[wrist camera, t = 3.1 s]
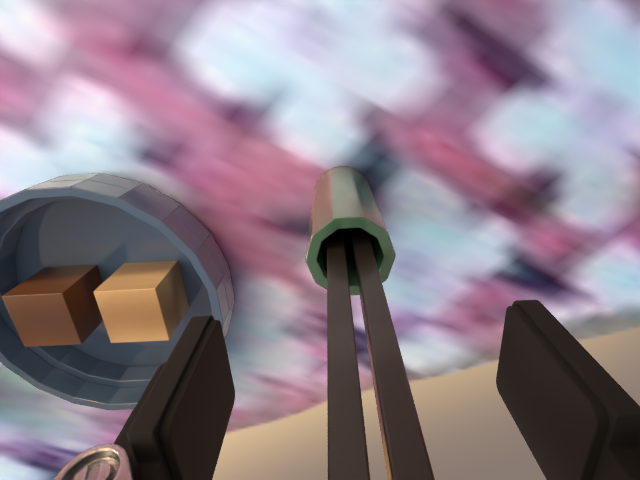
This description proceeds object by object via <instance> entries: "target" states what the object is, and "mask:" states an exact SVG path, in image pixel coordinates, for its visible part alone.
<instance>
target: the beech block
mask: <svg viewBox="0 0 640 480" xmlns="http://www.w3.org/2000/svg"><path fill="white" fill-rule="evenodd" d="M94 295H95V298H96V301H97V304H98V307H99V310H100V313H101V315H102V318H103V321H104V324H105V327H106V330H107V333H108V335H109V338H110V341H111V343H120V342H142V341H164V340H170V338H171V337H172V335H173V333H174V332H175V330H176V328H177V327H178V325H179V323H180V322H181V320H182V318H183V317H184V315H185V313H186V312H187V310H188V308H189V304H188V300H187V296H186V292H185V288H184V283H183V279H182V275H181V271H180V267H179V262H178V260H176V261H157V262H139V263H124V264H123V265H122V266H121V267H120V268H119V269H117V270H116V271H115V272H114V273H113V274H112V275H111V276H110V277H109V278H108V279H107V280H105V281H104V282H103V283H102V284H101V285H100V286H99V287H98V288H97V289H96V290H95V291H94Z"/></svg>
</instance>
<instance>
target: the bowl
mask: <svg viewBox="0 0 640 480" xmlns="http://www.w3.org/2000/svg"><path fill="white" fill-rule="evenodd" d="M176 260H178V262H179V267H180V271H181V275H182V279H183V283H184V288H185V292H186V296H187V300H188V304H189V308H188V310H187V312H186V313H185V315H184V317H183V318H182V320H181V322H180V323H179V325H178V327H177V328H176V330H175V332H174V333H173V335H172V337H171V338H170V340H164V341H142V342H120V343H111V341H110V338H109V335H108V333H107V330H106V327H105V324H104V321H103V322H102V323H101V324H100V325H99V326H98V327H97V328H96V329H95V330H94V331H93V332H92V333H91V335H90V336H89V337H88V338H87V339H86V340H85V341H84V342H83V343H82V344H75V345H53V346H31V347H25V346H24V344H23V342H22V340H21V338H20V336H19V333H18V331H17V329H16V327H15V325H14V323H13V320H12V318H11V316H10V314H9V312H8V310H7V307H6V305H5V303H4V301H3V299H2V296H3V295H4V294H6V293H7V292H9V291H10V290H12V289H13V288H15V287H16V286H18V285H19V284H21V283H22V282H24V281H25V280H27V279H28V278H30V277H31V276H33V275H34V274H36V273H37V272H39V271H40V270H42V269H43V268H48V267H66V266H85V265H97V267H98V270H99V273H100V276H101V279H102V282H104V281H105V280H107V279H108V278H109V277H110V276H111V275H112V274H113V273H114V272H115V271H116V270H117V269H119V268H120V267H121V266H122V265H123V264H124V263H139V262H157V261H176ZM233 304H234V292H233V287H232V281H231V276H230V270H229V266H228V263H227V261H226V260H225V258H224V256H223V254H222V252H221V251H220V249H219V247H218V245H217V243H216V242H215V240H214V238H213V236H212V234H211V233H210V232H209V231H208V230H207V229H206V228H205V227H204V226H203V225H202V224H201V223H200V222H199V221H198V220H197V219H196V218H195V217H194V216H193V215H192V214H191V213H190V212H189V211H188V210H187V209H186V208H185V207H184V206H183V205H181V204H180V203H178V202H176V201H175V200H173V199H171V198H169V197H167V196H166V195H164V194H162V193H160V192H158V191H157V190H155V189H153V188H151V187H150V186H148V185H146V184H143V183H140V182H136V181H132V180H128V179H124V178H119V177H115V176H111V175H107V174H101V173H97V174H81V175H66V176H60V177H57V178H54V179H52V180H49V181H46V182H44V183H41V184H38V185H35V186H32V187H30V188H27V189H24V190H22V191H20V192H18V193H15V194H13V195H11V196H9V197H6V198H4V199H2V200H0V362H1V363H2V364H3V365H5V366H6V367H7V368H9V369H10V370H12V371H13V372H14V373H16V374H17V375H19V376H20V377H22V378H23V379H24V380H26V381H27V382H29V383H30V384H32V385H33V386H35V387H37V388H38V389H40V390H43V391H45V392H48V393H50V394H52V395H55V396H57V397H60V398H62V399H64V400H67V401H69V402H71V403H75V404H80V405H85V406H90V407H96V408H101V409H106V410H123V409H134V408H135V406H136V405H137V403H138V401H139V399H140V398H141V396H142V394H143V393H144V391H145V389H146V387H147V386H148V384H149V382H150V381H151V379H152V377H153V375H154V374H155V372H156V370H157V369H158V367H159V366H160V365H161V364H163V363H166V362H167V360H168V358H169V356H170V355H171V353H172V351H173V349H174V347H175V346H176V344H177V342H178V340H179V339H180V337H181V335H182V333H183V332H184V330H185V328H186V326H187V324H188V323H189V321H190V319H191V318H192V317H193V316H210V315H212V316H213V317H214V319H215V320H220V322H221V325H222V330H223V335H224V339H225V336H226V334H227V331H228V328H229V325H230V320H231V315H232V309H233Z"/></svg>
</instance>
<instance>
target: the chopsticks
mask: <svg viewBox="0 0 640 480" xmlns="http://www.w3.org/2000/svg"><path fill="white" fill-rule="evenodd" d="M350 234H351V241H352V247H353V254H354V260H355V267H356V273H357V280H358V286H359V293H360V299H361V306H362V312H363V319H364V325H365V332H366V338H367V345H368V351H369V358H370V365H371V371H372V378H373V384H374V391H375V397H376V404H377V410H378V417H379V423H380V430H381V436H382V443H383V449H384V456H385V462H386V469H387V475H388V480H435V478H434V474H433V471H432V467H431V464H430V460H429V456H428V452H427V449H426V445H425V441H424V437H423V434H422V430H421V426H420V422H419V419H418V415H417V411H416V408H415V404H414V400H413V397H412V393H411V389H410V385H409V382H408V378H407V374H406V371H405V367H404V363H403V359H402V356H401V352H400V348H399V345H398V341H397V337H396V334H395V330H394V326H393V322H392V319H391V315H390V311H389V308H388V304H387V300H386V296H385V293H384V289H383V285H382V282H381V278H380V274H379V270H378V267H377V263H376V259H375V256H374V252H373V248H372V245H371V241H370V237H369V233H368V232H366V231H365V230H363V229H361V228H350ZM327 359H328V480H370V473H369V463H368V455H367V445H366V435H365V426H364V417H363V408H362V399H361V389H360V380H359V371H358V362H357V353H356V344H355V334H354V325H353V316H352V307H351V298H350V288H349V279H348V270H347V261H346V252H345V243H344V233H343V229H337V230H336V231H335V232H333V233H332V234H331V235H330V236H328V237H327Z"/></svg>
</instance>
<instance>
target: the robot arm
mask: <svg viewBox="0 0 640 480" xmlns="http://www.w3.org/2000/svg"><path fill="white" fill-rule="evenodd" d="M496 384H497V388H498V391H499V394H500V395H501V397H502V399H503V401H504V403H505V404H506V406H507V408H508V410H509V412H510V414H511V415H512V417H513V419H514V421H515V422H516V424H517V426H518V428H519V430H520V432H521V434H522V435H523V437H524V439H525V441H526V443H527V445H528V446H529V448H530V450H531V452H532V454H533V456H534V457H535V459H536V461H537V463H538V465H539V466H540V468H541V470H542V472H543V474H544V475H545V477H546V479H547V480H640V406H639V405H638V404H637V403H636V402H635V401H634V400H633V399H632V398H631V397H630V396H629V395H628V394H627V393H626V392H625V391H624V389H622V388H621V386H620V385H619V384H618V383H617V382H616V381H615V380H614V379H613V378H612V377H611V376H610V375H609V374H608V373H607V372H606V371H605V370H604V369H603V367H602V366H600V364H599V363H598V362H597V361H596V360H595V359H594V358H593V357H592V356H591V355H590V354H589V353H588V352H587V351H586V350H585V349H584V348H583V347H582V345H581V344H580V343H579V342H578V341H577V340H576V339H575V338H574V337H573V336H572V335H571V334H570V333H569V332H568V331H567V330H566V329H565V328H564V327H563V326H562V325H561V323H560V322H559V321H558V320H557V319H556V318H555V317H554V316H553V315H552V314H551V313H550V312H549V311H548V310H547V309H546V308H545V307H544V306H543V305H542V304H541V303H540V302H539V301H538V300H521V301H515V302H514V303H513V305H512V306H509V307H508V308H507V310H506V316H505V323H504V330H503V337H502V343H501V350H500V357H499V364H498V371H497V377H496ZM234 399H235V390H234V384H233V379H232V375H231V370H230V365H229V360H228V355H227V350H226V345H225V340H224V335H223V330H222V325H221V322H220V320H215V319H214V317H213V316H212V315H210V316H193V317H192V318H191V319H190V321H189V323H188V324H187V326H186V328H185V330H184V332H183V333H182V335H181V337H180V339H179V340H178V342H177V344H176V346H175V347H174V349H173V351H172V353H171V355H170V356H169V358H168V360H167V362H166V363H163V364H161V365H160V366H159V367H158V369H157V370H156V372H155V374H154V375H153V377H152V379H151V381H150V382H149V384H148V386H147V387H146V389H145V391H144V393H143V394H142V396H141V398H140V399H139V401H138V403H137V405H136V406H135V408H134V410H133V411H132V413H131V415H130V417H129V418H128V420H127V422H126V423H125V425H124V427H123V429H122V430H121V432H120V434H119V435H118V437H117V439H116V441H115V442H114V444H104V445H98V446H95V447H93V448H90V449H88V450H86V451H84V452H82V453H81V454H79V455H77V456H76V457H75V458H73V459H72V460H71V461H70V462H68V463H67V464H66V465H65V466H64V467H63V468H62V470H61V471H60V472H59V473H58V474H57V476H56V478H55V479H54V480H212V478H213V474H214V471H215V467H216V464H217V460H218V457H219V453H220V450H221V446H222V443H223V439H224V436H225V432H226V429H227V425H228V422H229V418H230V415H231V411H232V408H233V404H234Z"/></svg>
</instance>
